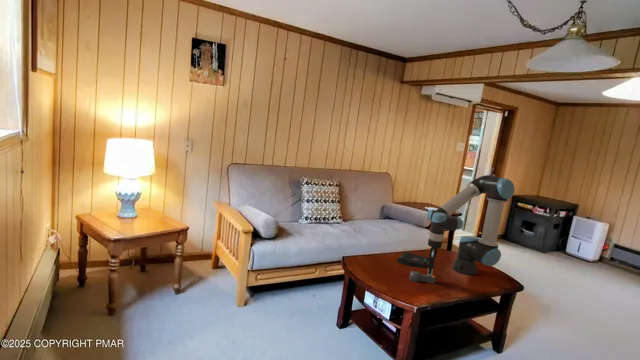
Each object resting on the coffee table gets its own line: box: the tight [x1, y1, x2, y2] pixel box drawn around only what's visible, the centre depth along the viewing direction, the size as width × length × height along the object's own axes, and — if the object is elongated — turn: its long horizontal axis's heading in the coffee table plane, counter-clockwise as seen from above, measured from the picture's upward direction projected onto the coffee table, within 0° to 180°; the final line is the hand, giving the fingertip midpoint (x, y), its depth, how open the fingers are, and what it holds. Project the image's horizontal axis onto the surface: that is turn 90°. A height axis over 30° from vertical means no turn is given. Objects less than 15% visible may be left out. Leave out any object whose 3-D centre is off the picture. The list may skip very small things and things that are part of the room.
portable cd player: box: [396, 251, 430, 269], centre depth 237 cm, size 16×17×4 cm
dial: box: [408, 270, 436, 285], centre depth 204 cm, size 14×6×4 cm, turn 80°
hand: (428, 278), depth 205 cm, fingers closed
